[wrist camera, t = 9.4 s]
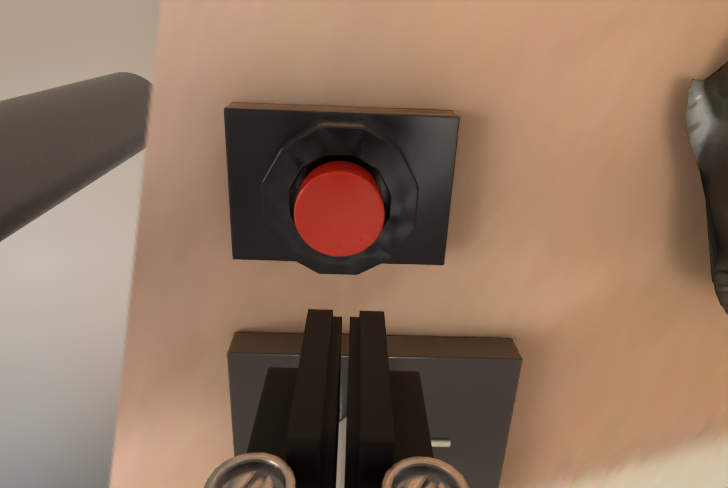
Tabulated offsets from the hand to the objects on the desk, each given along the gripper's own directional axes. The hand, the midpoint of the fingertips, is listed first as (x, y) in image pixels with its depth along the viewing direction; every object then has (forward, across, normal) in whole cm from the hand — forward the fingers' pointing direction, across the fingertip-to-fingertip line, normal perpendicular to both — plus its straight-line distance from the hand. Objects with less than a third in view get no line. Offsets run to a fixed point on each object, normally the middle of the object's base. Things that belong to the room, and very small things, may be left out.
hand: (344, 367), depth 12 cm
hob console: (+15, -2, +14) cm, 21 cm away
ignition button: (+12, 0, 0) cm, 12 cm away
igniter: (+15, 0, 0) cm, 15 cm away
